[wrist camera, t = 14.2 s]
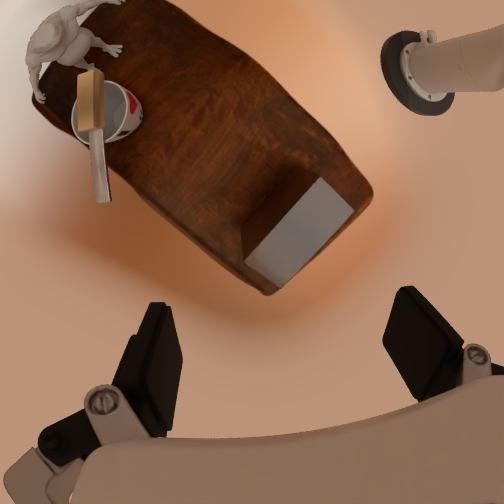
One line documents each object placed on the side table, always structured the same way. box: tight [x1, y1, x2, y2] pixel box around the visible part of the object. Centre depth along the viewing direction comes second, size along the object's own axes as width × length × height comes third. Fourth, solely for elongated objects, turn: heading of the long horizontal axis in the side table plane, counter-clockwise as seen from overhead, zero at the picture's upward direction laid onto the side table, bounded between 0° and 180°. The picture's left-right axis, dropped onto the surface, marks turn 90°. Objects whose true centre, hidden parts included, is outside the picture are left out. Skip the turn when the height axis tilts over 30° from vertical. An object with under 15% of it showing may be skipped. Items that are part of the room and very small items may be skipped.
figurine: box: [25, 0, 125, 103], centre depth 21 cm, size 18×7×18 cm, turn 137°
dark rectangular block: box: [241, 165, 355, 289], centre depth 36 cm, size 13×6×12 cm, turn 140°
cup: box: [71, 81, 143, 145], centre depth 29 cm, size 8×8×10 cm
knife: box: [77, 70, 112, 204], centre depth 24 cm, size 16×2×3 cm, turn 2°
